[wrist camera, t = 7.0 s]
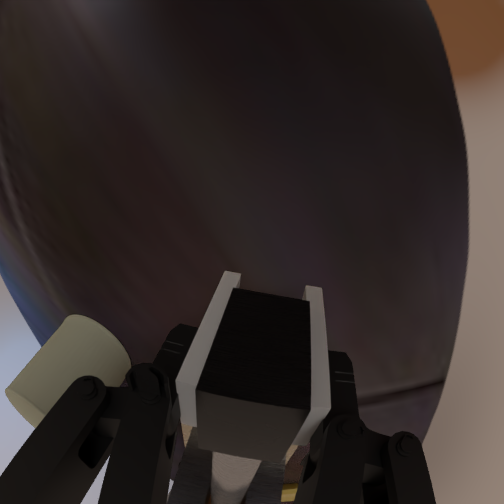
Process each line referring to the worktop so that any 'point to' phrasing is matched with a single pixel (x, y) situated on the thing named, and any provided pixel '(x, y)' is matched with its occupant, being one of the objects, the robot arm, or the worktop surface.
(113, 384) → the can
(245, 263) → the worktop surface
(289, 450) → the block
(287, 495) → the saucer
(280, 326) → the shaft
